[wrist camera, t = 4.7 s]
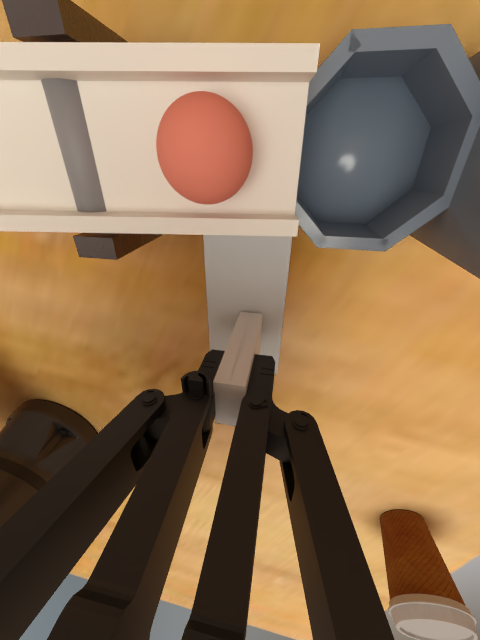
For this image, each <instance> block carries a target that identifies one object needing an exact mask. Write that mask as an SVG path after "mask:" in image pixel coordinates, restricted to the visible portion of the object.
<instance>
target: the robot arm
mask: <svg viewBox="0 0 480 640" xmlns="http://www.w3.org/2000/svg"><path fill="white" fill-rule="evenodd" d="M261 328H262V314H259V313H249V312H240V314H239V316H238V319H237V321H236V324H235V327H234V329H233V332H232V334H231V337H230V340H229V342H228V345H227V347H226V350H225V351H222V350H214V349H212V350H211V351H209V352H208V353H207V354H206V355H205V357H204V360H203V362H202V364H201V367H200V368H199V370H198V371H192V372H189V373H187V374H185V375H184V376H183V377H182V378H181V383H182V390H183V392H182V393H180V394H176V395H169V396H164V394H163V392H162V391H160V390H157V389H149V390H146V391H143V392H142V393H140V394H139V395H138V396H137V397H136V398H135V399H134V400H132V401H131V402H130V403H129V404H128V405H127V406H126V407H125V408H124V409H123V410H122V411H121V412H120V413H119V414H118V415H117V416H116V417H115V418H114V419H113V420H112V421H111V422H110V423H109V424H107V425H106V426H105V427H104V428H103V429H102V430H101V431H100V432H99V433H98V434H97V433H96V431H95V430H94V429H93V428H92V426H91V425H90V424H89V423H88V422H87V421H85V420H84V419H83V418H82V417H80V416H79V415H78V414H76V413H75V412H73V411H71V410H69V409H67V408H65V407H63V406H61V405H58V404H56V403H52V402H49V401H43V400H30V401H27V402H25V403H23V404H22V405H21V406H20V407H18V408H17V409H16V410H15V411H14V412H13V413H12V414H11V415H10V416H9V418H8V419H7V421H6V426H5V427H4V428H3V429H2V430H1V432H0V640H19V639H20V637H21V636H22V635H23V633H24V632H25V630H26V629H27V628H28V626H29V625H30V624H31V623H32V621H33V620H34V619H35V617H36V616H37V615H38V613H39V612H40V611H41V609H42V608H43V607H44V606H45V604H46V603H47V601H48V600H49V599H50V598H51V596H52V595H53V594H54V592H55V591H56V590H57V588H58V587H59V586H60V584H61V583H62V582H63V580H64V579H65V578H66V576H67V575H68V574H69V573H70V571H71V570H72V569H73V567H74V566H75V565H76V563H77V562H78V561H79V559H80V558H81V557H82V555H83V554H84V553H85V551H86V550H87V549H88V547H89V546H90V545H91V543H92V542H93V541H94V540H95V538H96V537H97V536H98V534H99V533H100V532H101V530H102V529H103V528H104V526H105V525H106V524H107V522H108V521H109V520H110V518H111V517H112V516H113V514H114V513H115V512H116V510H117V509H118V508H119V507H120V505H121V504H122V503H123V501H124V500H125V499H126V497H127V496H128V495H129V493H130V492H131V491H132V489H133V488H134V487H135V488H134V490H133V492H132V494H131V496H130V498H129V500H128V502H127V504H126V506H125V508H124V510H123V512H122V514H121V516H120V518H119V520H118V522H117V524H116V526H115V528H114V530H113V532H112V534H111V536H110V538H109V540H108V542H107V544H106V546H105V548H104V550H103V552H102V554H101V556H100V558H99V560H98V562H97V564H96V566H95V568H94V570H93V572H92V574H91V576H90V578H89V580H88V582H87V584H86V585H85V586H84V587H83V588H82V589H81V590H80V591H79V592H77V593H76V594H74V595H73V597H72V598H71V599H70V600H69V602H68V603H67V604H66V606H65V607H64V609H63V611H62V612H61V614H60V616H59V618H58V620H57V621H56V623H55V625H54V627H53V629H52V631H51V633H50V635H49V637H48V639H47V640H149V638H150V631H151V626H152V623H153V619H154V616H155V613H156V610H157V607H158V604H159V600H160V597H161V594H162V591H163V588H164V584H165V581H166V578H167V575H168V572H169V569H170V565H171V562H172V559H173V556H174V553H175V550H176V546H177V543H178V540H179V537H180V534H181V531H182V527H183V524H184V521H185V518H186V515H187V512H188V508H189V505H190V502H191V499H192V496H193V493H194V489H195V486H196V483H197V480H198V477H199V473H200V470H201V467H202V464H203V461H204V458H205V454H206V451H207V448H208V445H209V442H210V439H211V435H212V431H213V425H212V424H213V421H214V418H215V423H219V424H225V425H232V426H236V427H235V431H234V435H233V439H232V443H231V448H230V452H229V456H228V460H227V465H226V469H225V473H224V477H223V482H222V486H221V490H220V494H219V499H218V503H217V507H216V511H215V515H214V520H213V524H212V528H211V532H210V537H209V541H208V545H207V549H206V554H205V558H204V562H203V566H202V570H201V575H200V579H199V583H198V587H197V592H196V596H195V600H194V604H193V608H192V613H191V615H190V619H189V621H188V623H187V625H186V627H185V630H184V633H183V636H182V640H245V637H246V627H247V619H248V610H249V601H250V592H251V583H252V574H253V565H254V555H255V546H256V537H257V528H258V519H259V510H260V501H261V492H262V483H263V474H264V465H265V456H266V453H267V454H269V455H271V456H273V457H274V458H276V459H278V460H280V466H281V471H282V477H283V482H284V487H285V493H286V498H287V503H288V509H289V514H290V519H291V524H292V530H293V535H294V540H295V546H296V551H297V556H298V562H299V567H300V572H301V577H302V583H303V588H304V593H305V599H306V604H307V609H308V615H309V620H310V625H311V630H312V636H313V640H394V637H393V634H392V631H391V629H390V626H389V623H388V620H387V618H386V615H385V612H384V609H383V606H382V604H381V601H380V598H379V595H378V592H377V590H376V587H375V584H374V581H373V578H372V576H371V573H370V570H369V567H368V565H367V562H366V559H365V556H364V553H363V551H362V548H361V545H360V542H359V539H358V537H357V534H356V531H355V528H354V525H353V523H352V520H351V517H350V514H349V512H348V509H347V506H346V503H345V500H344V498H343V495H342V492H341V489H340V486H339V484H338V481H337V478H336V475H335V472H334V470H333V467H332V464H331V461H330V459H329V456H328V453H327V450H326V447H325V445H324V442H323V439H322V436H321V433H320V431H319V428H318V425H317V422H316V421H315V419H314V417H312V416H311V415H310V414H309V413H307V412H304V411H299V410H296V411H292V412H290V413H286V412H284V411H282V410H280V409H279V408H278V407H277V406H275V404H274V403H273V400H272V392H273V383H274V373H275V363H276V362H275V360H274V358H273V356H267V355H259V352H260V344H261ZM135 485H136V486H135Z"/></svg>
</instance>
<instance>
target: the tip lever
mask: <svg viewBox="0 0 480 640" xmlns="http://www.w3.org/2000/svg"><path fill="white" fill-rule="evenodd" d="M319 49H320V43H116V42H0V231H24V232H78V233H132V234H186V235H203V241H204V259H205V276H206V293H207V310H208V328H209V345H210V351H211V350H212V349H214V350H222V351H225V350H226V347H227V345H228V342H229V340H230V337H231V334H232V332H233V329H234V327H235V324H236V321H237V319H238V316H239V314H240V312H249V313H259V314H262V328H261V344H260V352H259V355H267V356H273V358H274V360H275V362H276V363H275V373H274V374H277V372H278V363H279V354H280V345H281V336H282V326H283V317H284V308H285V299H286V290H287V281H288V271H289V262H290V253H291V244H292V236H294V237H297V234H298V226H299V219H298V218H297V217H296V216H295V207H296V198H297V189H298V180H299V171H300V162H301V152H302V143H303V134H304V125H305V116H306V107H307V97H308V88H309V82H310V81H311V79H312V78H313V77H314V75H315V74H316V72H317V65H318V57H319ZM195 91H207V92H212V93H215V94H218V95H220V96H222V97H224V98H225V99H227V100H228V101H230V102H231V103H232V104H233V105H234V106H235V107H236V108H237V109H238V110H239V112H240V113H241V114H242V116H243V118H244V120H245V121H246V123H247V125H248V128H249V131H250V135H251V139H252V145H253V158H252V165H251V169H250V172H249V175H248V177H247V179H246V181H245V183H244V184H243V186H242V187H241V188H240V190H239V191H238V192H237V193H236V194H234V195H233V196H232V197H231V198H229V199H227V200H225V201H223V202H220V203H217V204H209V205H208V204H199V203H195V202H192V201H190V200H188V199H186V198H184V197H183V196H181V195H180V194H179V193H178V192H176V191H175V190H174V189H173V188H172V186H171V185H170V184H169V183H168V181H167V180H166V178H165V176H164V174H163V172H162V170H161V168H160V165H159V161H158V157H157V151H156V138H157V131H158V127H159V123H160V121H161V119H162V116H163V114H164V113H165V111H166V110H167V108H168V107H169V106H170V105H171V104H172V103H173V102H174V101H175V100H176V99H178V98H179V97H181V96H183V95H185V94H187V93H190V92H195Z"/></svg>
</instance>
